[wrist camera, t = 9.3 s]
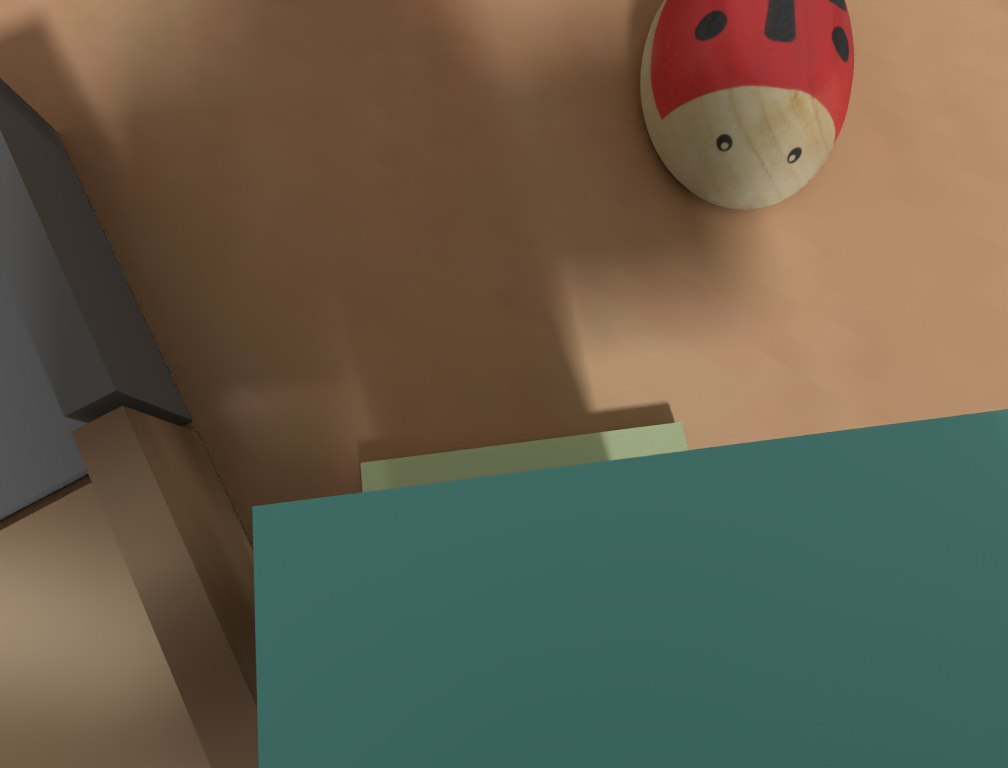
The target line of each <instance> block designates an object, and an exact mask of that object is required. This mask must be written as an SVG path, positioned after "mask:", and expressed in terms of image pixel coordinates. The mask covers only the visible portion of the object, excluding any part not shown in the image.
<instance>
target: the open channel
mask: <svg viewBox="0 0 1008 768" xmlns="http://www.w3.org/2000/svg"><path fill="white" fill-rule="evenodd" d="M71 434H72V436H73V439H74V441H75V444H76V446H77V448H78V451H79V453H80V455H81V458H82V460H83V463H84V465H85V467H86V470H87V472H88V475H89V477H90V479H91V483H89V484H87V485H85V486H84V487H82V488H80V489H78V490H76V491H74V492H72V493H70V494H68V495H66V496H65V497H63V498H61V499H59V500H57V501H55V502H53V503H51V504H49V505H48V506H46V507H44V508H42V509H40V510H38V511H36V512H34V513H32V514H31V515H29V516H27V517H25V518H23V519H21V520H19V521H17V522H15V523H14V524H12V525H10V526H8V527H6V528H4V529H2V530H0V768H259V755H258V715H257V676H256V636H255V596H254V556H253V549H252V547H251V545H250V543H249V541H248V539H247V537H246V534H245V532H244V530H243V528H242V526H241V524H240V522H239V520H238V517H237V515H236V513H235V511H234V509H233V507H232V505H231V503H230V500H229V498H228V496H227V494H226V492H225V490H224V488H223V486H222V483H221V481H220V479H219V477H218V475H217V473H216V471H215V468H214V466H213V464H212V462H211V460H210V458H209V456H208V454H207V451H206V449H205V447H204V445H203V443H202V441H201V439H200V437H199V434H198V432H195V431H192V430H189V429H187V428H184V427H181V426H178V425H176V424H173V423H170V422H167V421H164V420H162V419H159V418H156V417H153V416H150V415H148V414H145V413H142V412H139V411H137V410H134V409H131V408H128V407H125V406H121V407H119V408H117V409H115V410H113V411H111V412H109V413H107V414H105V415H103V416H101V417H99V418H98V419H96V420H94V421H92V422H90V423H88V424H86V425H84V426H82V427H80V428H78V429H76V430H74V431H72V432H71Z"/></svg>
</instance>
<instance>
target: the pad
mask: <svg viewBox="0 0 1008 768" xmlns="http://www.w3.org/2000/svg"><path fill="white" fill-rule="evenodd" d="M687 450H688V448H687V443H686V439H685V434H684V429H683V424H682V422H676V423H669V424H661V425H653V426H645V427H637V428H629V429H622V430H614V431H606V432H598V433H590V434H582V435H575V436H567V437H559V438H551V439H543V440H535V441H528V442H520V443H512V444H504V445H496V446H488V447H481V448H473V449H465V450H457V451H449V452H441V453H434V454H426V455H418V456H410V457H402V458H394V459H387V460H379V461H371V462H363V463H360V464H361V478H362V492H368V491H376V490H384V489H392V488H400V487H407V486H415V485H423V484H431V483H438V482H446V481H454V480H462V479H470V478H477V477H485V476H493V475H501V474H508V473H516V472H524V471H532V470H540V469H547V468H555V467H563V466H571V465H579V464H586V463H594V462H602V461H610V460H617V459H625V458H633V457H641V456H649V455H656V454H664V453H672V452H680V451H687Z"/></svg>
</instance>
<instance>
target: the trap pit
mask: <svg viewBox="0 0 1008 768" xmlns="http://www.w3.org/2000/svg"><path fill="white" fill-rule="evenodd" d="M121 406H125V407H128V408H131V409H134V410H137V411H139V412H142V413H145V414H148V415H150V416H153V417H156V418H159V419H162V420H164V421H167V422H170V423H173V424H176V425H178V426H182V425H184V424H185V423H187V422H189V421H191V417H190V415H189V413H188V411H187V409H186V407H185V405H184V403H183V400H182V398H181V396H180V394H179V392H178V390H177V388H176V386H175V383H174V381H173V379H172V377H171V375H170V373H169V371H168V369H167V366H166V364H165V362H164V360H163V358H162V356H161V354H160V351H159V349H158V347H157V345H156V343H155V341H154V339H153V337H152V334H151V332H150V330H149V328H148V326H147V324H146V322H145V320H144V317H143V315H142V313H141V311H140V309H139V307H138V305H137V303H136V300H135V298H134V296H133V294H132V292H131V290H130V288H129V286H128V283H127V281H126V279H125V277H124V275H123V273H122V271H121V269H120V266H119V264H118V262H117V260H116V258H115V256H114V254H113V252H112V249H111V247H110V245H109V243H108V241H107V239H106V237H105V234H104V232H103V230H102V228H101V226H100V224H99V222H98V220H97V217H96V215H95V213H94V211H93V209H92V207H91V205H90V203H89V200H88V198H87V196H86V194H85V192H84V190H83V188H82V186H81V183H80V181H79V179H78V177H77V175H76V173H75V171H74V169H73V166H72V164H71V162H70V160H69V158H68V156H67V154H66V152H65V149H64V147H63V145H62V143H61V141H60V139H59V137H58V135H57V132H56V130H55V129H54V128H53V127H52V126H51V125H49V124H48V123H47V122H46V121H45V120H44V119H43V118H42V117H41V116H40V115H39V114H38V113H37V112H36V111H35V110H34V109H32V108H31V107H30V106H29V105H28V104H27V103H26V102H25V101H24V100H23V99H22V98H21V97H20V96H19V95H18V94H17V93H15V92H14V91H13V90H12V89H11V88H10V87H9V86H8V85H7V84H6V83H5V82H4V81H3V80H2V79H1V78H0V521H1V520H3V519H5V518H7V517H9V516H11V515H12V514H14V513H16V512H18V511H20V510H22V509H24V508H26V507H28V506H30V505H31V504H33V503H35V502H37V501H39V500H41V499H43V498H45V497H47V496H49V495H50V494H52V493H54V492H56V491H58V490H60V489H62V488H64V487H66V486H68V485H69V484H71V483H73V482H75V481H77V480H79V479H81V478H83V477H85V476H87V475H88V472H87V470H86V467H85V465H84V463H83V460H82V458H81V455H80V453H79V451H78V448H77V446H76V444H75V441H74V439H73V436H72V434H71V432H72V431H74V430H76V429H78V428H80V427H82V426H84V425H86V424H88V423H90V422H92V421H94V420H96V419H98V418H99V417H101V416H103V415H105V414H107V413H109V412H111V411H113V410H115V409H117V408H119V407H121Z"/></svg>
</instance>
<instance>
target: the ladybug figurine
mask: <svg viewBox="0 0 1008 768" xmlns="http://www.w3.org/2000/svg"><path fill="white" fill-rule="evenodd" d="M853 69H854V46H853V36H852V29H851V24H850V18H849V14H848V10H847V6H846V3H845V0H664V1H663V2H662V4H661V5H660V7H659V9H658V11H657V13H656V15H655V17H654V19H653V22H652V24H651V27H650V29H649V33H648V36H647V39H646V43H645V46H644V51H643V56H642V63H641V73H640V92H641V102H642V109H643V115H644V119H645V123H646V126H647V130H648V133H649V135H650V138H651V141H652V143H653V145H654V147H655V149H656V151H657V153H658V155H659V156H660V158H661V160H662V161H663V163H664V164H665V166H666V167H667V168H668V170H669V171H670V172H671V173H672V174H673V176H674V177H675V178H676V179H677V180H678V181H679V182H680V183H681V184H682V185H683V186H685V187H686V188H687V189H688V190H689V191H691V192H692V193H693V194H695V195H696V196H698V197H699V198H701V199H703V200H705V201H707V202H709V203H711V204H714V205H717V206H720V207H724V208H729V209H739V210H751V209H759V208H764V207H768V206H771V205H774V204H777V203H779V202H781V201H783V200H785V199H787V198H788V197H790V196H791V195H793V194H794V193H796V192H797V191H799V190H800V189H801V188H802V187H804V186H805V185H806V184H807V183H808V182H809V181H810V180H811V179H812V178H813V177H814V175H815V174H816V173H817V172H818V171H819V169H820V168H821V167H822V165H823V164H824V162H825V161H826V159H827V158H828V156H829V154H830V153H831V151H832V149H833V147H834V145H835V143H836V141H837V138H838V136H839V133H840V131H841V128H842V125H843V122H844V119H845V116H846V112H847V108H848V104H849V99H850V94H851V87H852V80H853Z"/></svg>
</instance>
